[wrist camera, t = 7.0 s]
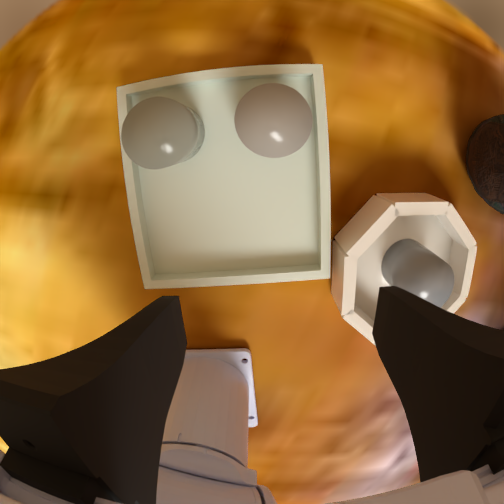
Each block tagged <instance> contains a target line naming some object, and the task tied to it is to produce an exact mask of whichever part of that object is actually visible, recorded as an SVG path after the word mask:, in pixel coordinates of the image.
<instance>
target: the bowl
mask: <svg viewBox="0 0 504 504" xmlns="http://www.w3.org/2000/svg"><path fill="white" fill-rule="evenodd" d="M334 238H335V240H333V246H332V287H331V294H332V296H333V298H334V301H335V303H336V305H337V307H338V309H339V311H340V314H341V316H342V318H343V319H344V320H345V321H347V322H348V323H349V324H350V325H352V326H353V327H354V328H355V329H356V330H358V331H359V332H360V333H361V334H362V335H364V336H365V337H366V338H367V339H368V340H369V341H371V342H372V343H373V344H374V345H375V341H374V338H373V335H372V331H373V325H374V320H375V313H376V307H377V301H378V294H379V287H385V286H390V285H389V284H388V283H387V282H386V281H385V279H384V277H383V275H382V271H381V265H382V260H383V257H384V255H385V253H386V251H387V250H388V248H389V247H390V246H391V245H393V244H394V243H395V242H397V241H399V240H402V239H408V238H409V239H414V240H416V241H418V242H419V243H421V244H422V245H423V246H425V247H426V248H428V249H429V250H430V251H432V252H433V253H434V254H436V255H437V256H438V257H440V258H441V259H442V260H444V261H445V262H446V263H448V264H449V265H450V266H451V268H452V270H453V272H454V279H455V281H454V287H453V291H452V293H451V295H450V297H449V299H448V300H447V301H446V303H445V304H444V305H443V306H442V307H441V308H442V309H444V310H446V311H449V312H451V313H453V314H454V313H455V311H456V310H457V309H458V308H459V307H460V306H461V305H462V304H463V303H464V302H465V301H466V299H465V298H467V297H468V293H469V288H470V284H471V279H472V274H473V269H474V263H475V257H476V251H477V246H476V244H477V243H476V241H475V239H474V238H473V236H472V234H471V233H470V231H469V230H468V228H467V226H466V225H465V223H464V222H463V220H462V219H461V217H460V216H459V214H458V213H457V211H456V210H455V208H454V207H453V205H452V204H451V203H449V202H448V201H445V200H443V199H440V198H438V197H435V196H433V195H430V194H427V193H377V196H375V195H373V196H372V197H371V198H370V199H369V200H368V201H367V202H366V204H365V205H364V206H363V207H362V208H361V209H360V210H359V211H358V212H357V213H356V214H355V215H354V217H353V218H352V219H351V220H350V221H349V222H348V223H347V224H346V225H345V226H344V227H343V228H342V229H341V230H340V231H339V232H338V234H337V235H336V236H335V237H334ZM375 346H376V345H375Z"/></svg>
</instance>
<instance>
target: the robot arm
mask: <svg viewBox="0 0 504 504" xmlns="http://www.w3.org/2000/svg"><path fill="white" fill-rule="evenodd" d="M372 335H373V338H374V341H375V345H376V348H377V351H378V354H379V356H380V358H381V360H382V362H383V364H384V366H385V368H386V371H387V373H388V375H389V377H390V379H391V381H392V383H393V385H394V387H395V389H396V391H397V393H398V395H399V397H400V400H401V402H402V405H403V407H404V410H405V413H406V416H407V420H408V423H409V426H410V430H411V434H412V438H413V442H414V446H415V451H416V456H417V461H418V467H419V473H420V481H421V483H417V484H414V485H411V486H407V487H404V488H400V489H397V490H393V491H389V492H385V493H381V494H377V495H372V496H368V497H363V498H358V499H352V500H347V501H341V502H334V503H327V504H504V331H503V330H499V329H495V328H491V327H488V326H484V325H481V324H478V323H476V322H473V321H470V320H467V319H465V318H462V317H460V316H457V315H455V314H453V313H451V312H449V311H446V310H444V309H442V308H440V307H438V306H436V305H434V304H432V303H430V302H428V301H426V300H424V299H422V298H420V297H418V296H416V295H414V294H412V293H410V292H408V291H406V290H404V289H402V288H399V287H397V286H385V287H379V294H378V301H377V307H376V313H375V320H374V325H373V331H372ZM186 346H187V339H186V334H185V329H184V323H183V318H182V312H181V307H180V301H179V296H162V297H160V298H158V299H157V300H155V301H154V302H152V303H151V304H149V305H148V306H146V307H145V308H144V309H142V310H141V311H140V312H138V313H137V314H135V315H134V316H132V317H131V318H130V319H128V320H127V321H125V322H124V323H122V324H121V325H119V326H117V327H116V328H114V329H113V330H111V331H110V332H108V333H106V334H105V335H103V336H101V337H99V338H98V339H96V340H94V341H92V342H90V343H88V344H86V345H84V346H82V347H79V348H77V349H74V350H72V351H70V352H67V353H65V354H62V355H60V356H57V357H54V358H51V359H47V360H44V361H41V362H37V363H33V364H29V365H24V366H19V367H13V368H7V369H0V436H1V438H2V439H3V440H4V441H5V443H6V444H7V445H8V446H9V449H8V451H7V452H6V454H5V453H4V452H2V451H1V450H0V504H277V503H276V500H275V498H274V497H273V495H272V493H271V492H270V490H269V489H268V488H267V487H265V486H263V485H257V471H256V470H252V469H248V468H247V465H248V427H255V426H257V425H258V418H257V409H256V399H255V389H254V380H253V370H252V360H251V352H250V350H249V349H246V348H236V349H201V350H186ZM244 358H245V359H247V360H242V359H244Z"/></svg>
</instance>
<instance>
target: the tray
mask: <svg viewBox="0 0 504 504" xmlns="http://www.w3.org/2000/svg"><path fill="white" fill-rule="evenodd" d="M267 83H279V84H284V85H287V86H289V87H291V88H293V89H295V90H296V91H298V92H299V93H300V94H301V95H302V96H303V97H304V98H305V100H306V101H307V103H308V104H309V107H310V109H311V112H312V118H313V124H312V130H311V133H310V136H309V138H308V140H307V141H306V143H305V144H304V145H303V146H302V147H301V148H300V149H299V150H297V151H296V152H294V153H293V154H291V155H288V156H285V157H280V158H269V157H264V156H260V155H258V154H256V153H254V152H252V151H251V150H249V149H248V148H247V147H246V146H245V145H244V144H243V143H242V141H241V140H240V138H239V137H238V134H237V132H236V129H235V123H234V117H235V111H236V108H237V105H238V103H239V101H240V100H241V98H242V97H243V96H244V95H245V94H246V93H247V92H248V91H250V90H251V89H253V88H254V87H256V86H259V85H262V84H267ZM157 96H158V97H167V98H170V99H173V100H175V101H177V102H179V103H181V104H183V105H185V106H187V107H189V108H191V109H193V110H194V111H195V112H196V113H197V114H198V115H199V116H200V117H201V119H202V121H203V124H204V128H205V138H204V142H203V144H202V146H201V148H200V150H199V151H198V152H197V154H196V155H195V156H193V157H192V158H191V159H189V160H187V161H185V162H181V163H178V164H175V165H172V166H169V167H165V168H162V169H146V168H143V167H141V166H139V165H137V164H135V163H134V162H133V161H132V160H131V159H130V158H129V157H128V156H127V154H126V152H125V150H124V148H123V145H122V140H121V131H122V126H123V122H124V120H125V118H126V116H127V114H128V113H129V111H130V110H131V109H132V108H133V107H134V106H135V105H136V104H138V103H139V102H141V101H143V100H145V99H147V98H151V97H157ZM117 105H118V120H119V132H120V142H121V152H122V161H123V169H124V177H125V185H126V192H127V199H128V205H129V212H130V218H131V224H132V229H133V235H134V240H135V246H136V251H137V256H138V261H139V266H140V271H141V275H142V280H143V284H144V289H163V288H186V287H207V286H225V285H242V284H258V283H273V282H288V281H302V280H315V279H327V278H330V261H331V197H330V163H329V141H328V124H327V110H326V97H325V85H324V75H323V65H322V64H275V65H255V66H241V67H230V68H220V69H212V70H204V71H196V72H189V73H183V74H177V75H171V76H166V77H160V78H155V79H150V80H145V81H141V82H136V83H132V84H128V85H124V86H120V87H117Z"/></svg>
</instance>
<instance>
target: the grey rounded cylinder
mask: <svg viewBox="0 0 504 504" xmlns="http://www.w3.org/2000/svg"><path fill="white" fill-rule="evenodd" d="M381 271H382V275H383V277H384V279H385V281H386V282H387V283H388V284H389V285H390V286H397V287H399V288H402V289H404V290H406V291H408V292H410V293H412V294H414V295H416V296H418V297H420V298H422V299H424V300H426V301H428V302H430V303H432V304H434V305H436V306H438V307H440V308H441V307H442V306H443V305H444V304H445V303H446V301H447V300H448V299H449V297H450V295H451V293H452V291H453V287H454V281H455V279H454V272H453V270H452V268H451V266H450V265H449V264H448V263H446V262H445V261H444V260H442V259H441V258H440V257H438V256H437V255H436V254H434V253H433V252H432V251H430V250H429V249H428V248H426V247H425V246H423V245H422V244H421V243H419V242H418V241H416V240H414V239H409V238H408V239H402V240H399V241H397V242H395V243H394V244H393V245H391V246H390V247H389V248H388V250H387V251H386V253H385V255H384V257H383V260H382V265H381Z"/></svg>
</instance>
